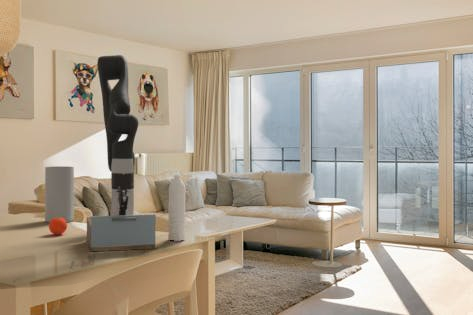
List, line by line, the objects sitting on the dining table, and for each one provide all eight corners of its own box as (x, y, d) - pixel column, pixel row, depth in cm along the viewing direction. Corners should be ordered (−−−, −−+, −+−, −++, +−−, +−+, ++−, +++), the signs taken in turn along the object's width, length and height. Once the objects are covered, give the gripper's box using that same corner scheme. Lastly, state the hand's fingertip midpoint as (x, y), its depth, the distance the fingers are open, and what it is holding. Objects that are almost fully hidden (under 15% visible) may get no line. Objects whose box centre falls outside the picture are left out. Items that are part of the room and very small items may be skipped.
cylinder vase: (39, 221, 256) (39, 167, 255) (62, 218, 266) (62, 166, 265) (56, 224, 248) (56, 168, 248) (79, 221, 259) (79, 167, 258)
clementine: (49, 233, 225) (49, 215, 224) (67, 232, 226) (67, 215, 226) (48, 236, 217) (48, 218, 217) (66, 235, 219) (66, 217, 219)
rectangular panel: (90, 246, 188) (91, 216, 187) (154, 243, 194) (155, 214, 194) (91, 247, 185) (91, 217, 185) (155, 244, 192) (156, 215, 192)
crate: (86, 241, 207) (86, 217, 207) (146, 238, 214) (146, 215, 213) (90, 251, 188) (90, 225, 188) (155, 248, 195) (155, 223, 194)
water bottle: (169, 241, 208) (170, 174, 208) (166, 238, 215) (167, 173, 214) (192, 240, 211) (193, 174, 210) (189, 237, 217) (189, 173, 216)
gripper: (109, 170, 198) (109, 219, 199) (113, 172, 186) (113, 224, 186) (130, 170, 201) (130, 218, 201) (136, 172, 188) (135, 223, 188)
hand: (122, 221), depth 194 cm, fingers closed
